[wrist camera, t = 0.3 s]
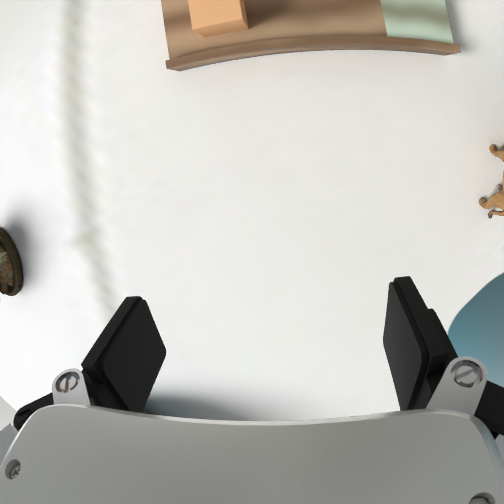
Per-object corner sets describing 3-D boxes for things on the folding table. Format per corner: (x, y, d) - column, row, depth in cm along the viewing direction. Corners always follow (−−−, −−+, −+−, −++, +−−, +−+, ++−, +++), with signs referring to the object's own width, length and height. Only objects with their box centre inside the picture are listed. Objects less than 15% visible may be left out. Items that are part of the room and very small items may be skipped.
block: (199, 1, 27) (186, -11, 22) (242, -8, 26) (235, -22, 22) (204, 37, 29) (192, 29, 25) (248, 29, 28) (242, 19, 24)
